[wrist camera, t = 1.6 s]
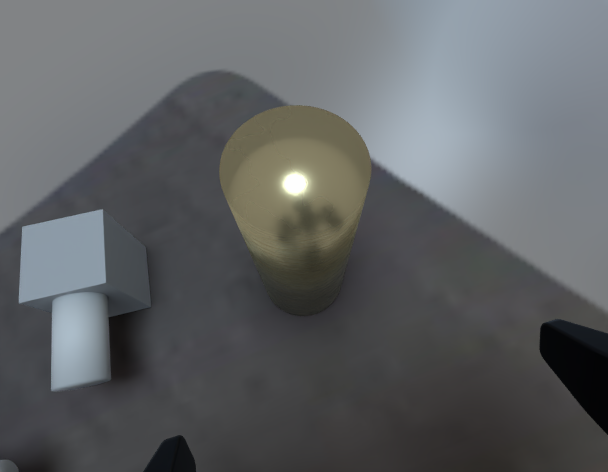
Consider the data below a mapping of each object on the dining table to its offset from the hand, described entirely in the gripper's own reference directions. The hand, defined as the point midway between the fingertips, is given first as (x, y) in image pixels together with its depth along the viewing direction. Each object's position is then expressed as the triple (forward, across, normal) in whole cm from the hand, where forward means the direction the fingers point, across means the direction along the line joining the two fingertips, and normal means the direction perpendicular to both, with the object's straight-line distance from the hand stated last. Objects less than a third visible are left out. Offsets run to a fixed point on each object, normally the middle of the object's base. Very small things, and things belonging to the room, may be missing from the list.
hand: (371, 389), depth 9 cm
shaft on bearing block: (+14, +11, +4) cm, 19 cm away
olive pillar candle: (+14, 0, +4) cm, 15 cm away
